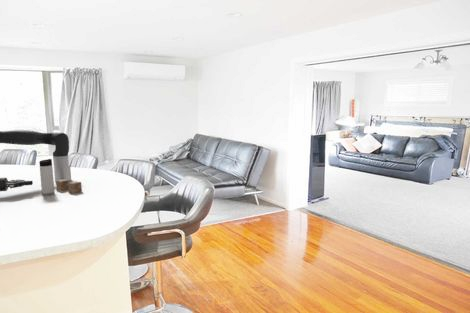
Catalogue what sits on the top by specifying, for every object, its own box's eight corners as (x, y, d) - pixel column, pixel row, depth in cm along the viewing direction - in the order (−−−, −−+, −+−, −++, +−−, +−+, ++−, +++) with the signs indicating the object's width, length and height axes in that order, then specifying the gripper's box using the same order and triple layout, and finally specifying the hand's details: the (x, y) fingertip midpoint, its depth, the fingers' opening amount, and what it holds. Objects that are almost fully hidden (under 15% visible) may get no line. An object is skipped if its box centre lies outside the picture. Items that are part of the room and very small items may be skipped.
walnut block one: (76, 191, 194) (75, 181, 193) (81, 192, 192) (81, 181, 191) (68, 192, 190) (68, 182, 189) (73, 193, 187) (73, 183, 187)
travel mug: (57, 192, 189) (54, 159, 187) (47, 195, 183) (44, 160, 181) (49, 192, 191) (46, 158, 189) (39, 194, 185) (36, 160, 182)
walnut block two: (64, 188, 200) (63, 179, 199) (69, 189, 198) (68, 179, 197) (56, 190, 196) (55, 180, 195) (61, 191, 194) (60, 181, 193)
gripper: (-10, 180, 172) (28, 178, 177) (0, 175, 184) (34, 174, 190) (-8, 194, 173) (29, 191, 178) (1, 188, 185) (35, 186, 191)
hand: (32, 182), depth 184 cm, fingers closed
